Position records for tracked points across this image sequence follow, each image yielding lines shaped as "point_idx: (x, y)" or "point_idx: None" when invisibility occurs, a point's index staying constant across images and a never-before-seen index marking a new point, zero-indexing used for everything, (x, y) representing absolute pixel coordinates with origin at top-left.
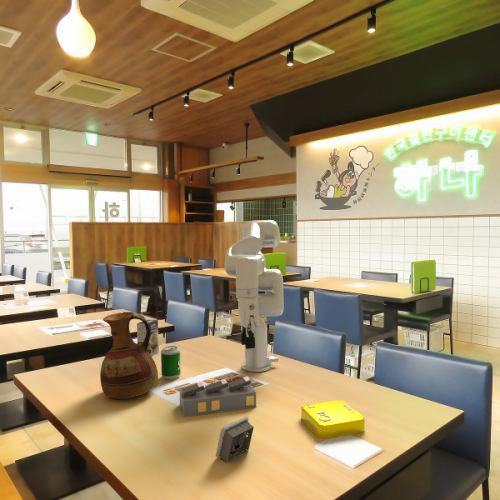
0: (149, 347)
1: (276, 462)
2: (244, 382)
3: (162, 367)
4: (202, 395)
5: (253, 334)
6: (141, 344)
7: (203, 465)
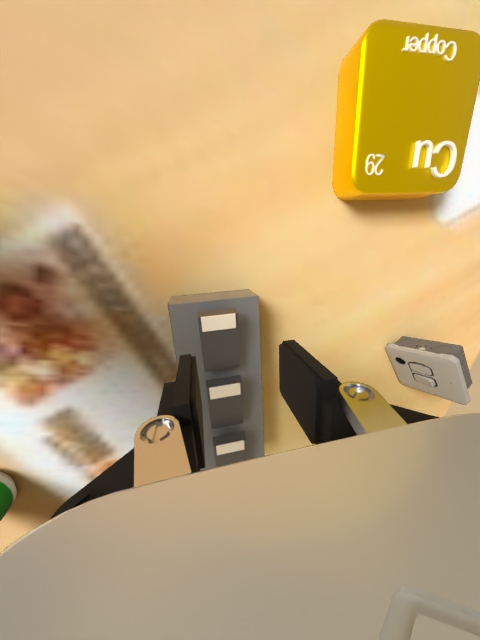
0: None
1: (445, 301)
2: (238, 331)
3: None
4: (242, 425)
5: (405, 414)
6: None
7: (405, 396)
